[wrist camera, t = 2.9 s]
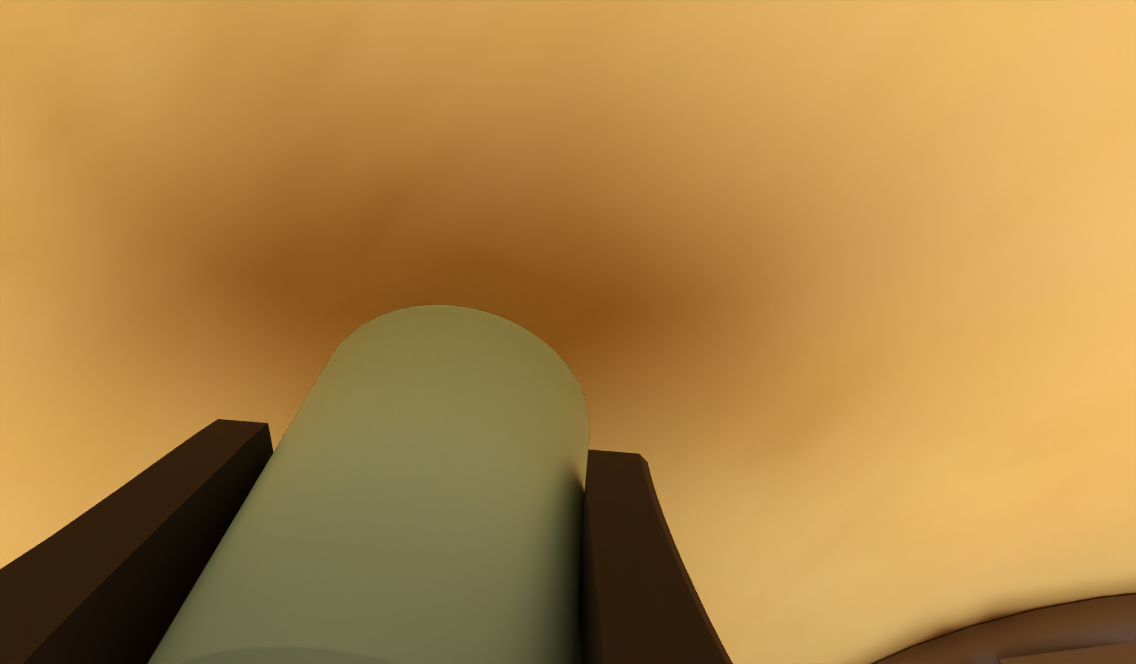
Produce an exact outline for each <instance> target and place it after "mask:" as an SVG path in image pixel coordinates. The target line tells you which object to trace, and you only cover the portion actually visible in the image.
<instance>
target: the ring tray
mask: <svg viewBox="0 0 1136 664" xmlns="http://www.w3.org/2000/svg"><path fill="white" fill-rule="evenodd" d="M876 664H1136V594H1135V595H1125V596H1116V597H1106V598H1099V599H1093V600H1088V601H1082V602H1077V603H1071V604H1066V605H1060V606H1055V607H1049V608H1044V609H1038V610H1033V611H1029V612H1025V613H1021V614H1018V615H1014V616H1010V617H1006V618H1002V619H999V620H995V621H991V622H987V623H983V624H980V625H976V626H972V627H969V628H966V629H963V630H960V631H957V632H954V633H951V634H948V635H946V636H943V637H940V638H937V639H934V640H931V641H928V642H926V643H923V644H920V645H917V646H914V647H911V648H909V649H907V650H905V651H902V652H900V653H898V654H896V655H894V656H891V657H889V658H887V659H885V660H882V661H880V662H878V663H876Z"/></svg>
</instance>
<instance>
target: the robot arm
mask: <svg viewBox="0 0 1136 664" xmlns="http://www.w3.org/2000/svg"><path fill="white" fill-rule="evenodd" d="M272 454H273V448H272V442H271V437H270V432H269V426H268V423H259V422H247V421H235V420H223V419H218V420H216V421H215V422H213V423H211V424H210V425H208V426H207V427H205V428H204V429H202V430H201V431H199V432H198V433H196V434H195V435H194V436H192V437H191V438H189V439H188V440H186V441H185V442H184V443H182V444H181V445H179V446H178V447H177V448H175V449H174V450H172V451H171V452H170V453H168V454H167V455H165V456H164V457H163V458H161V459H160V460H158V461H157V462H156V463H154V464H153V465H151V466H150V467H149V468H147V469H146V470H144V471H143V472H142V473H140V474H139V475H137V476H136V477H135V478H133V479H132V480H130V481H129V482H128V483H126V484H125V485H123V486H122V487H121V488H119V489H118V490H116V491H115V492H114V493H112V494H111V495H109V496H108V497H106V498H105V499H104V500H102V501H101V502H99V503H98V504H96V505H95V506H94V507H92V508H91V509H89V510H88V511H86V512H85V513H84V514H82V515H81V516H79V517H78V518H76V519H75V520H74V521H72V522H71V523H69V524H68V525H66V526H65V527H64V528H62V529H61V530H59V531H58V532H56V533H55V534H53V535H52V536H51V537H49V538H48V539H46V540H45V541H43V542H42V543H40V544H38V545H37V546H35V547H34V548H32V549H31V550H29V551H28V552H26V553H25V554H23V555H22V556H20V557H18V558H17V559H15V560H14V561H12V562H11V563H9V564H8V565H6V566H5V567H3V568H2V569H0V664H148V662H149V660H150V659H151V657H152V655H153V654H154V652H155V650H156V649H157V647H158V645H159V644H160V642H161V640H162V639H163V637H164V635H165V634H166V632H167V630H168V629H169V627H170V625H171V624H172V622H173V620H174V619H175V617H176V615H177V614H178V612H179V610H180V609H181V607H182V605H183V603H184V602H185V600H186V598H187V597H188V595H189V593H190V592H191V590H192V588H193V587H194V585H195V583H196V582H197V580H198V578H199V577H200V575H201V573H202V572H203V570H204V568H205V567H206V565H207V563H208V562H209V560H210V558H211V557H212V555H213V553H214V552H215V550H216V548H217V547H218V545H219V543H220V541H221V540H222V538H223V536H224V535H225V533H226V531H227V530H228V528H229V526H230V525H231V523H232V521H233V520H234V518H235V516H236V515H237V513H238V511H239V510H240V508H241V506H242V505H243V503H244V501H245V500H246V498H247V496H248V495H249V493H250V491H251V490H252V488H253V486H254V485H255V483H256V481H257V479H258V478H259V476H260V474H261V473H262V471H263V469H264V468H265V466H266V464H267V463H268V461H269V459H270V458H271V456H272ZM576 664H733V663H732V661H731V660H730V658H729V656H728V654H727V652H726V650H725V648H724V647H723V645H722V643H721V641H720V639H719V637H718V635H717V633H716V631H715V629H714V627H713V625H712V623H711V621H710V619H709V617H708V615H707V613H706V611H705V609H704V607H703V605H702V603H701V600H700V598H699V596H698V594H697V592H696V590H695V588H694V585H693V583H692V581H691V579H690V577H689V575H688V573H687V570H686V568H685V566H684V564H683V562H682V559H681V557H680V555H679V552H678V550H677V548H676V545H675V543H674V540H673V538H672V535H671V533H670V530H669V528H668V525H667V523H666V520H665V517H664V515H663V512H662V509H661V506H660V504H659V501H658V498H657V495H656V492H655V489H654V485H653V482H652V478H651V475H650V471H649V467H648V462H647V461H646V460H645V459H644V458H643V457H642V456H641V455H640V454H636V453H623V452H611V451H599V450H588V458H587V469H586V480H585V491H584V507H583V524H582V541H581V584H580V605H579V623H578V640H577V657H576Z"/></svg>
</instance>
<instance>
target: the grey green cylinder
mask: <svg viewBox="0 0 1136 664" xmlns="http://www.w3.org/2000/svg"><path fill="white" fill-rule="evenodd" d="M589 433H590V420H589V412H588V407H587V403H586V400H585V396H584V394H583V391H582V389H581V387H580V385H579V383H578V381H577V379H576V377H575V376H574V374H573V373H572V371H571V370H570V368H569V367H568V365H567V364H566V363H565V362H564V361H563V359H562V358H561V357H560V356H559V355H558V354H557V353H556V352H555V351H554V350H553V349H552V348H551V347H550V346H549V345H547V344H546V343H545V342H544V341H543V340H541V339H540V338H539V337H537V336H536V335H534V334H533V333H531V332H530V331H529V330H527V329H525V328H523V327H521V326H519V325H518V324H516V323H514V322H512V321H510V320H507V319H505V318H502V317H500V316H497V315H495V314H492V313H488V312H485V311H481V310H478V309H474V308H468V307H461V306H455V305H423V306H414V307H408V308H403V309H398V310H395V311H392V312H389V313H386V314H383V315H381V316H379V317H377V318H374V319H372V320H370V321H368V322H366V323H365V324H363V325H362V326H360V327H359V328H358V329H356V330H355V331H353V332H352V333H351V334H350V335H349V336H348V337H347V338H346V339H345V340H343V341H342V342H341V344H340V345H339V346H338V347H337V349H336V350H335V351H334V353H333V354H332V355H331V357H330V359H329V361H328V362H327V364H326V366H325V367H324V369H323V371H322V372H321V374H320V376H319V377H318V379H317V381H316V382H315V384H314V386H313V387H312V389H311V391H310V392H309V394H308V396H307V397H306V399H305V401H304V402H303V404H302V406H301V407H300V409H299V411H298V412H297V414H296V416H295V417H294V419H293V421H292V423H291V424H290V426H289V428H288V429H287V431H286V433H285V434H284V436H283V438H282V439H281V441H280V443H279V444H278V446H277V448H276V449H275V451H274V453H273V454H272V456H271V458H270V459H269V461H268V463H267V464H266V466H265V468H264V469H263V471H262V473H261V474H260V476H259V478H258V479H257V481H256V483H255V485H254V486H253V488H252V490H251V491H250V493H249V495H248V496H247V498H246V500H245V501H244V503H243V505H242V506H241V508H240V510H239V511H238V513H237V515H236V516H235V518H234V520H233V521H232V523H231V525H230V526H229V528H228V530H227V531H226V533H225V535H224V536H223V538H222V540H221V541H220V543H219V545H218V547H217V548H216V550H215V552H214V553H213V555H212V557H211V558H210V560H209V562H208V563H207V565H206V567H205V568H204V570H203V572H202V573H201V575H200V577H199V578H198V580H197V582H196V583H195V585H194V587H193V588H192V590H191V592H190V593H189V595H188V597H187V598H186V600H185V602H184V603H183V605H182V607H181V609H180V610H179V612H178V614H177V615H176V617H175V619H174V620H173V622H172V624H171V625H170V627H169V629H168V630H167V632H166V634H165V635H164V637H163V639H162V640H161V642H160V644H159V645H158V647H157V649H156V650H155V652H154V654H153V655H152V657H151V659H150V660H149V662H148V664H576V657H577V640H578V623H579V605H580V584H581V541H582V524H583V507H584V491H585V480H586V469H587V458H588V450H589Z"/></svg>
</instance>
